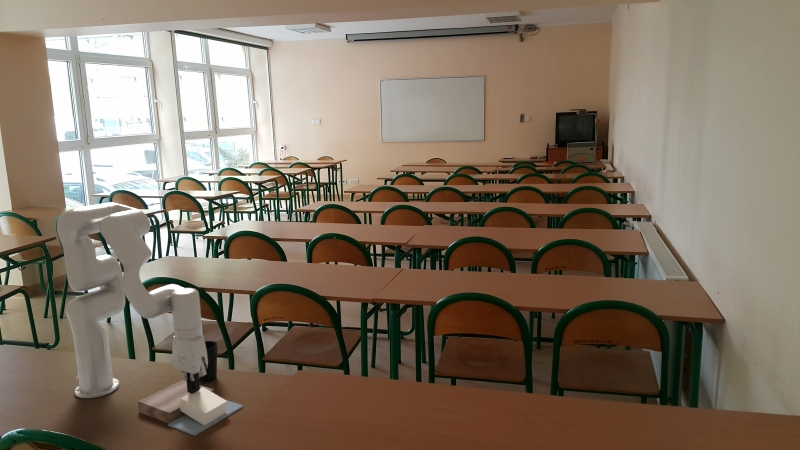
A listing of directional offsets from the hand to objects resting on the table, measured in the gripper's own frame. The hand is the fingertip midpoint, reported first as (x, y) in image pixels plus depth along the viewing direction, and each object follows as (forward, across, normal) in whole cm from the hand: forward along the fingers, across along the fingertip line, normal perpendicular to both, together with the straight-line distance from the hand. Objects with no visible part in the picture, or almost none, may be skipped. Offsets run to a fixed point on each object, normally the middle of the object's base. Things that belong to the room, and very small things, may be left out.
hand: (193, 391), depth 169 cm
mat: (+7, +5, 0) cm, 8 cm away
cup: (+7, -14, +17) cm, 23 cm away
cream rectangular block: (+5, +4, -1) cm, 7 cm away
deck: (+7, -8, 0) cm, 10 cm away
